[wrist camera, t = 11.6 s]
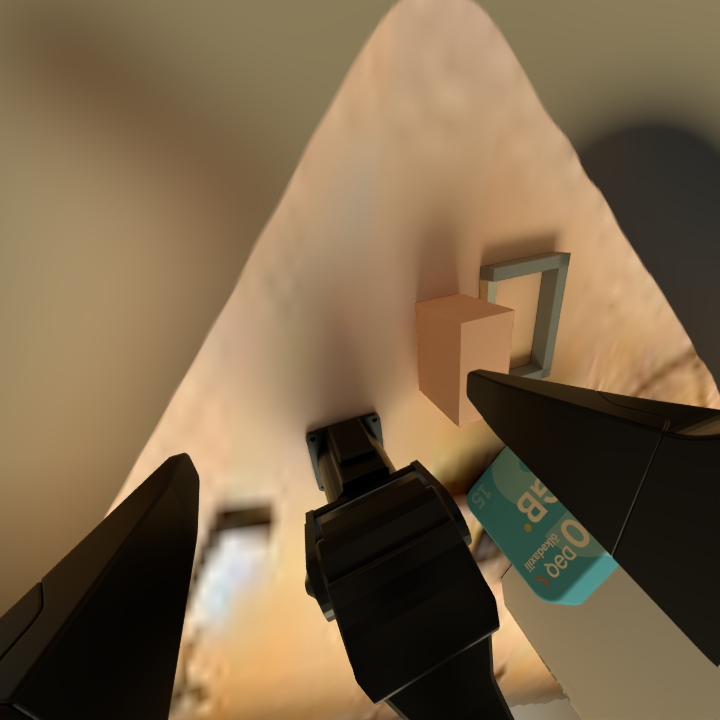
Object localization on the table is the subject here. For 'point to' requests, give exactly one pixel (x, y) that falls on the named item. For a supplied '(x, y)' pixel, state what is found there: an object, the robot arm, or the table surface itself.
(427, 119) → the table surface
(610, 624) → the game console
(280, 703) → the table surface
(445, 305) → the tall beige box
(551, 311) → the grey rectangular frame
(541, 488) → the data package
